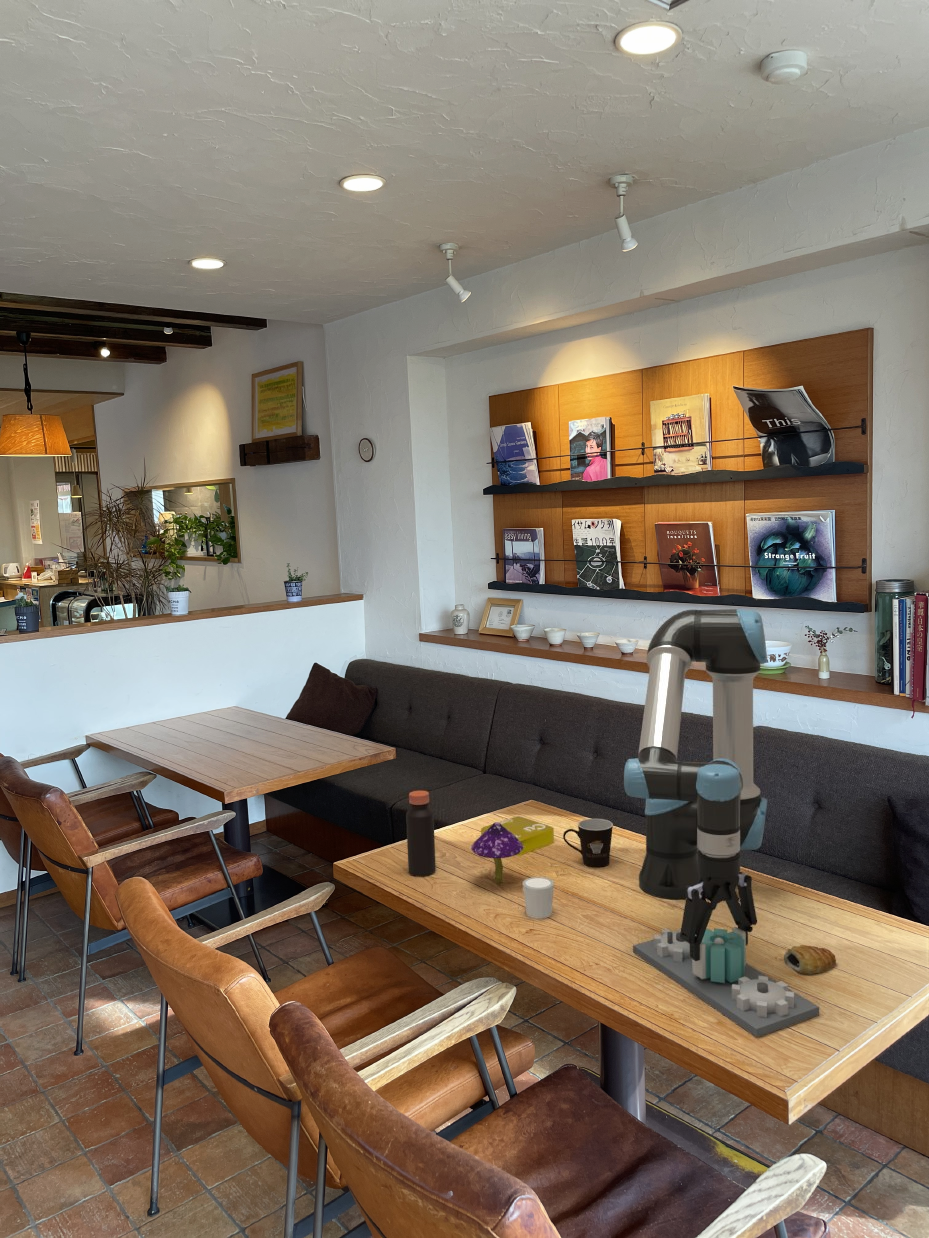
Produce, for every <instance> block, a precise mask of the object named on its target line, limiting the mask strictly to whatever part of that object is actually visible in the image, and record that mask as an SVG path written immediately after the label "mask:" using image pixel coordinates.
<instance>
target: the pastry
mask: <svg viewBox="0 0 929 1238" xmlns="http://www.w3.org/2000/svg"><path fill="white" fill-rule="evenodd" d="M836 958H837V957H836V955H835V954H834V953H833V952H832V951H831V950H830V949H827V948H825V947H818V946H812V945H804V944H800V945H798V946H797V945H794V946H792V947H791V948H788V949H787V951H786V952H785V953H784V954H783V960H784V962H785V964H786V966H788V967H789V968H791V969H792V970H795V971H796V972H798V973H800V974H804V975H814V974H816V973H817V974H821V973H823V972H826V971H828V970H831V969H832V968H833V967H835V965H836V963H837V959H836Z"/></svg>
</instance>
